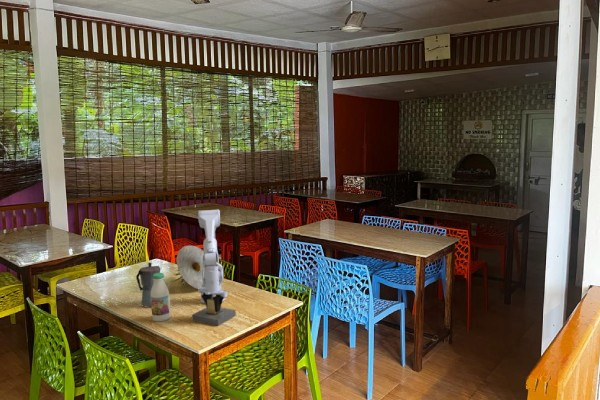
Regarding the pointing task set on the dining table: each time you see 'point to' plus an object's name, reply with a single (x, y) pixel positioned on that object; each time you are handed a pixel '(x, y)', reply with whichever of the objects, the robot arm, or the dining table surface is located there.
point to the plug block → (212, 307)
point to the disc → (190, 266)
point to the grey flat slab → (214, 320)
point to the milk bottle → (160, 299)
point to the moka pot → (147, 282)
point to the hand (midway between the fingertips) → (213, 310)
